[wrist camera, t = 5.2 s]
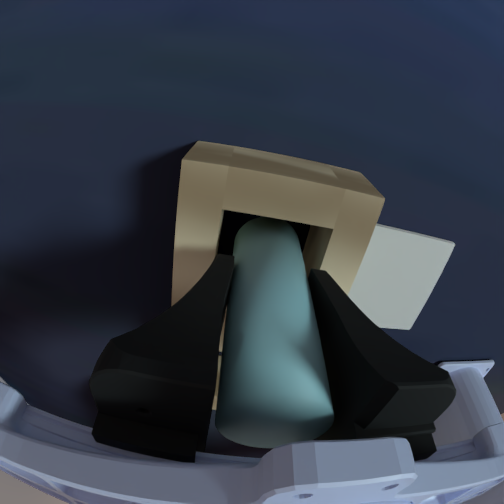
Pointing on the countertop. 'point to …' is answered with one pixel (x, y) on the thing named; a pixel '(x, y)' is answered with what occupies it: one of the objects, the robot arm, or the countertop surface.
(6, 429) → the robot arm
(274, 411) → the peg
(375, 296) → the mat
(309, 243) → the hole block
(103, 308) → the countertop surface
